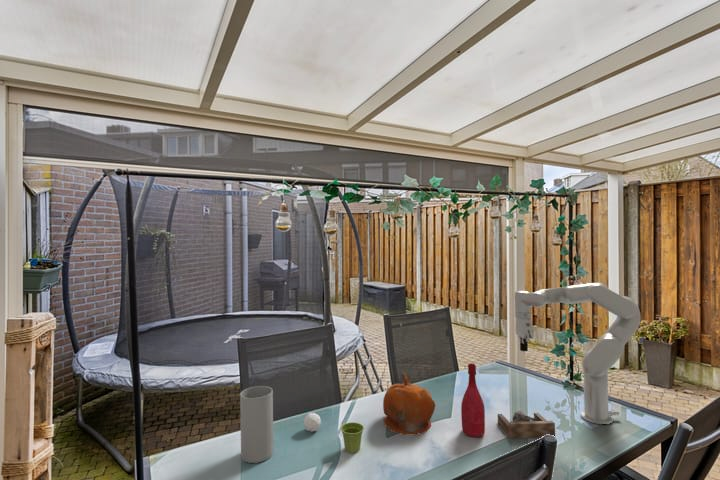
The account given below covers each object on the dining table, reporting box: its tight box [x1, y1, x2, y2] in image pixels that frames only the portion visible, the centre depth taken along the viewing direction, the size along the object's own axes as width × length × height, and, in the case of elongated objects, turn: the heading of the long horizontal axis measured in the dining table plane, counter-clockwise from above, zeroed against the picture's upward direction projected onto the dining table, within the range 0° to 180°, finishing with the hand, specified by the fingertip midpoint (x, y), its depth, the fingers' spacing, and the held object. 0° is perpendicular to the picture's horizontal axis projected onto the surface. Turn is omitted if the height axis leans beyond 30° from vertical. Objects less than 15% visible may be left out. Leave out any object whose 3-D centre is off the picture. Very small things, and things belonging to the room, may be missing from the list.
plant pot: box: [340, 422, 365, 454], centre depth 150 cm, size 9×9×9 cm
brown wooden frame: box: [497, 412, 556, 440], centre depth 163 cm, size 19×14×6 cm
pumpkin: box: [382, 371, 436, 435], centre depth 172 cm, size 22×25×22 cm
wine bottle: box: [460, 362, 486, 438], centre depth 161 cm, size 10×10×30 cm
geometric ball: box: [303, 412, 322, 433], centre depth 165 cm, size 8×8×8 cm
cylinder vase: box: [239, 385, 275, 464], centre depth 147 cm, size 12×12×25 cm
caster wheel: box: [512, 410, 537, 422], centre depth 166 cm, size 7×11×10 cm
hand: (523, 350), depth 190 cm, fingers closed
